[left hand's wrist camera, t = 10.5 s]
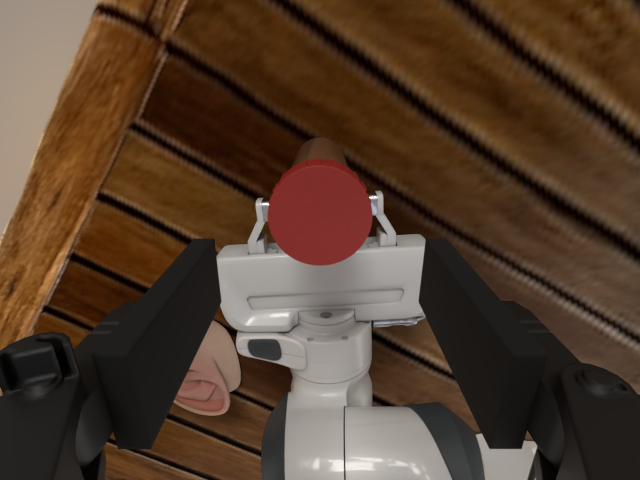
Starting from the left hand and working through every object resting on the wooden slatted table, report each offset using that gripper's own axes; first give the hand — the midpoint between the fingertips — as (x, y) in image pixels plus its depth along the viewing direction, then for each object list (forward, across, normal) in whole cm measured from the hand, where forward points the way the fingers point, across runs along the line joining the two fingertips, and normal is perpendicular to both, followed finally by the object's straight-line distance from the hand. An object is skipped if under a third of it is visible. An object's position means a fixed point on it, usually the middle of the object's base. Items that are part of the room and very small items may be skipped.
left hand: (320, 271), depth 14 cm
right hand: (+18, 0, +2) cm, 18 cm away
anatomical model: (+25, +16, +24) cm, 38 cm away
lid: (+7, 0, 0) cm, 7 cm away
